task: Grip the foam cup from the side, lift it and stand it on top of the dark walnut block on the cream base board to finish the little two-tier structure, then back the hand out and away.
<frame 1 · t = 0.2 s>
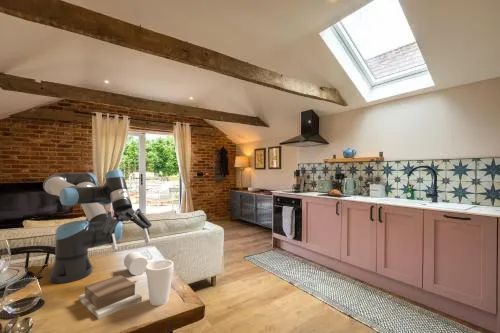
hand: (132, 246, 100), 15 cm above the table, tool tilted 35°, fingers open, 13 cm apart
build base: (110, 300, 87), on the table
mug: (140, 270, 113), on the table
foam cup: (159, 301, 87), on the table
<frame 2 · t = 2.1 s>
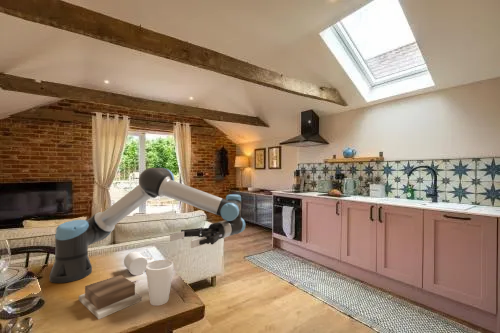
hand: (180, 240, 94), 20 cm above the table, tool horizontal, fingers open, 13 cm apart
nothing on the table moved.
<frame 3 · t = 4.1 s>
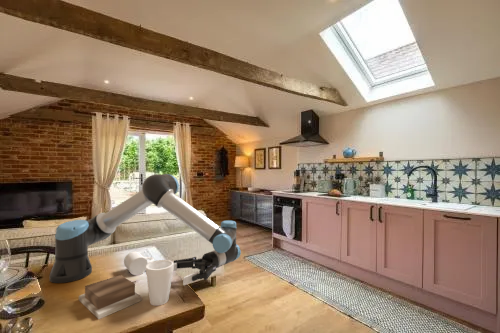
hand: (172, 276, 91), 7 cm above the table, tool horizontal, fingers open, 13 cm apart
nothing on the table moved.
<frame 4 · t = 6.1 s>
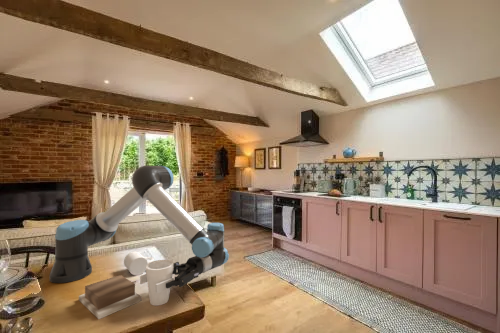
hand: (148, 284, 83), 8 cm above the table, tool horizontal, fingers closed on foam cup, 9 cm apart
foam cup: (159, 301, 87), on the table, touching gripper
everything else where it was.
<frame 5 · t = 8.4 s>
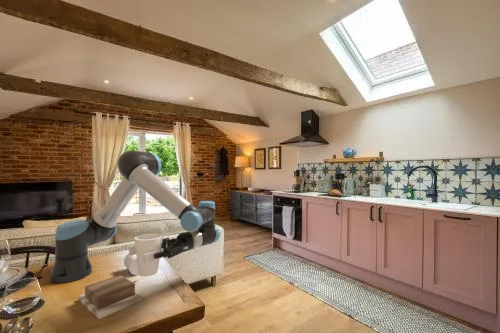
hand: (136, 255, 83), 18 cm above the table, tool horizontal, fingers closed on foam cup, 9 cm apart
foam cup: (148, 273, 87), point 10 cm above the table, touching gripper
everything else where it was.
when the fingers open (14 cm above the table, at t = 10.7 s): foam cup drops 1 cm, resting on build base.
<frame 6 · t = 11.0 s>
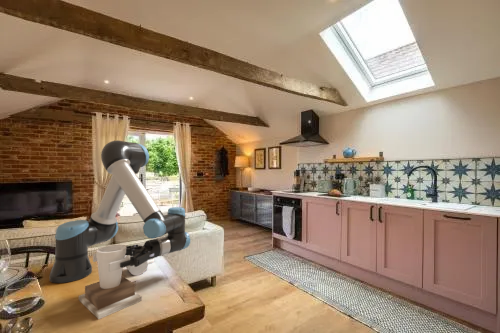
hand: (100, 262, 84), 14 cm above the table, tool horizontal, fingers open, 13 cm apart
foam cup: (110, 285, 87), point 5 cm above the table, touching build base
everything else where it was.
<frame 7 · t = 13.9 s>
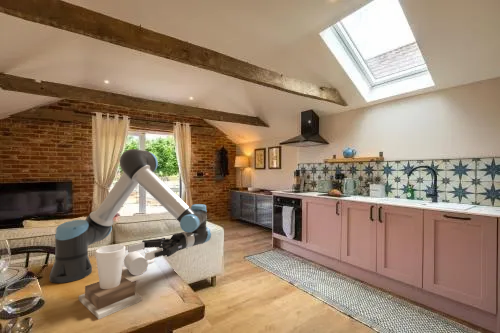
hand: (136, 252, 94), 15 cm above the table, tool horizontal, fingers open, 13 cm apart
nothing on the table moved.
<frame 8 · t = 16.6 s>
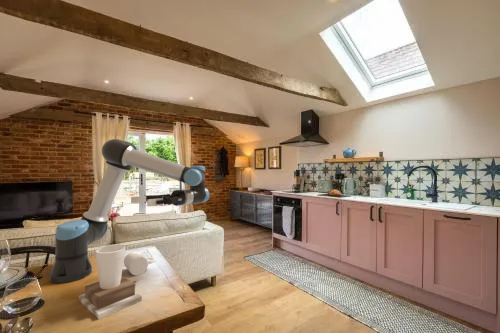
hand: (139, 201, 100), 34 cm above the table, tool horizontal, fingers open, 13 cm apart
nothing on the table moved.
at the end: foam cup inside the target area on the build base (0.1 cm from its centre), point 5.3 cm above the build base's base; foam cup tilted 0°; the gripper is holding nothing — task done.
